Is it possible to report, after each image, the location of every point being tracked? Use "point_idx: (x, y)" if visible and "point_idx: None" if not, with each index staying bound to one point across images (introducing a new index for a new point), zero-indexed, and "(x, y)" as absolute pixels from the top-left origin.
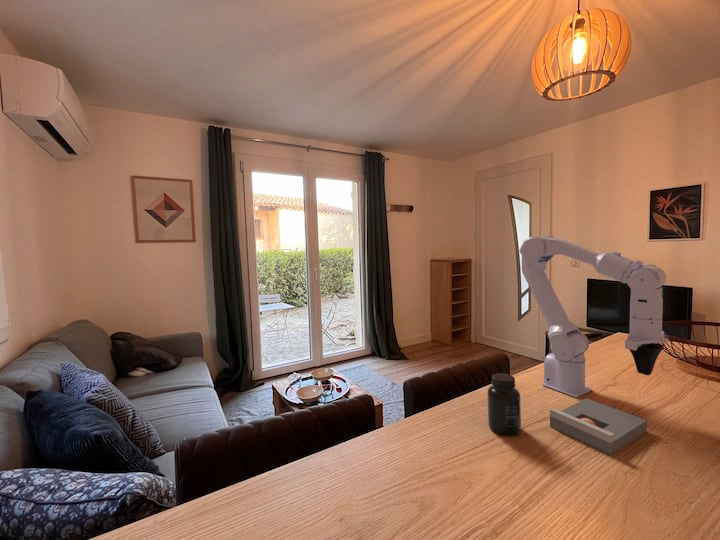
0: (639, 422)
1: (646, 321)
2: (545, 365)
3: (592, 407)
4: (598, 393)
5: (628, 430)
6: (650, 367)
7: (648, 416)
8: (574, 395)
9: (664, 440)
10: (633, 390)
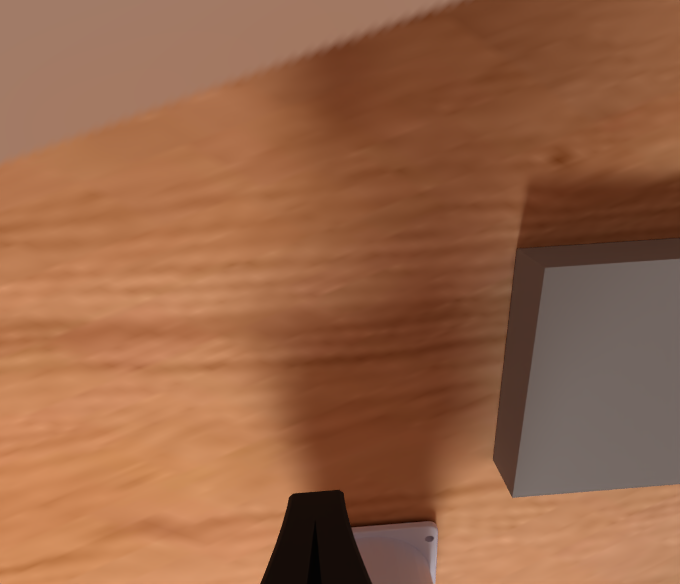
0: (601, 274)
1: None
2: None
3: (593, 443)
4: None
5: None
6: (359, 556)
7: (349, 310)
8: (437, 532)
9: (545, 170)
10: (118, 464)
